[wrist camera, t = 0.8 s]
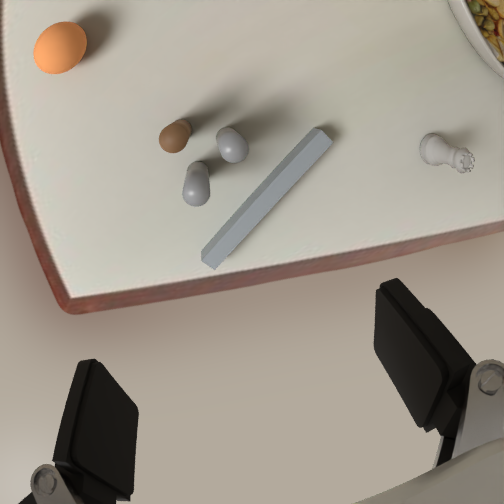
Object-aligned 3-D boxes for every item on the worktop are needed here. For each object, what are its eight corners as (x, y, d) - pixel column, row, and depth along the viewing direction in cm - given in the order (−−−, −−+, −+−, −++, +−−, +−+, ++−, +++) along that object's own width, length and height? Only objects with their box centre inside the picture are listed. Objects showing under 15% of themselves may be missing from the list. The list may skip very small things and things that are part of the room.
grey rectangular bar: (313, 127, 33) (321, 129, 31) (325, 139, 34) (333, 142, 32) (201, 251, 38) (201, 260, 36) (213, 259, 39) (214, 270, 37)
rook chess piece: (445, 146, 36) (483, 159, 29) (430, 169, 37) (467, 187, 30) (428, 126, 34) (468, 137, 27) (413, 151, 36) (451, 165, 29)
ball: (70, 19, 22) (48, 8, 17) (104, 41, 25) (86, 31, 19) (40, 61, 24) (14, 58, 18) (72, 84, 26) (49, 83, 21)
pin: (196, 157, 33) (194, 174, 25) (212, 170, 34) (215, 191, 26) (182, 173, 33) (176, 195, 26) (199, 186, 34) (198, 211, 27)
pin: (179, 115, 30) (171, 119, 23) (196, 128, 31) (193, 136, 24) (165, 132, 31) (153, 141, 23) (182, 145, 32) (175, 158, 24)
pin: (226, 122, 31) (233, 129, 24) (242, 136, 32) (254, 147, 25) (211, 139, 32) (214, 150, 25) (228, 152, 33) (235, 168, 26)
